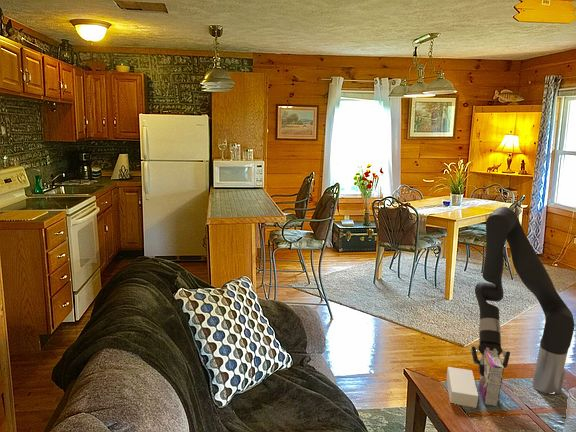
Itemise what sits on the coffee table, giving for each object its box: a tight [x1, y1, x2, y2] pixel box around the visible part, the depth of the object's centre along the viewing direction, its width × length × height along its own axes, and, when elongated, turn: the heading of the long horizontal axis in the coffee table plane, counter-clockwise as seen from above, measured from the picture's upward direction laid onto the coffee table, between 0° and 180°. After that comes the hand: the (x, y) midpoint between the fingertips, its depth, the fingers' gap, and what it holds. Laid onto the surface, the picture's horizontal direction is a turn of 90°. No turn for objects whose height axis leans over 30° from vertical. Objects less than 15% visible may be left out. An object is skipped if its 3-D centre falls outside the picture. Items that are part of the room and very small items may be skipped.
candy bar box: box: [478, 350, 505, 407], centre depth 173 cm, size 11×5×16 cm, turn 168°
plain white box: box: [445, 366, 479, 409], centre depth 177 cm, size 9×16×5 cm, turn 167°
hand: (490, 377), depth 173 cm, fingers closed on candy bar box, 5 cm apart
